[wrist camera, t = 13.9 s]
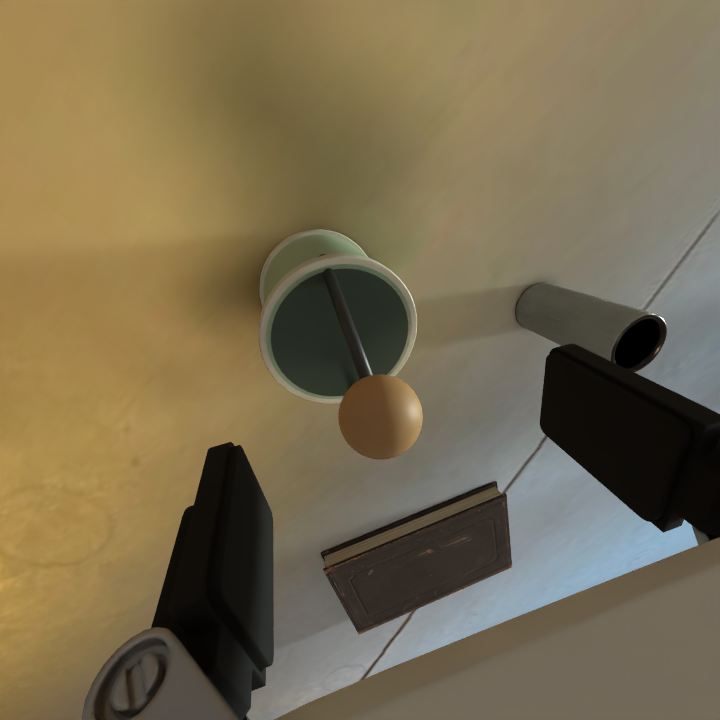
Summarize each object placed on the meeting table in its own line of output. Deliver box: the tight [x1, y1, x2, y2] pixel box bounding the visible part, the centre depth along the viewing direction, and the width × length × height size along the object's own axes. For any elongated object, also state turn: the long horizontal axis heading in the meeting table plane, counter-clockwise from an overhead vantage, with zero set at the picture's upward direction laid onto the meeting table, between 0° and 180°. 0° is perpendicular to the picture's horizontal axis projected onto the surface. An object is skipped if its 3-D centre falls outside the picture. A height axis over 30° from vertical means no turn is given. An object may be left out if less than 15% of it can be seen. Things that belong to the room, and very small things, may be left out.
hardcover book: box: [321, 482, 512, 634], centre depth 43 cm, size 16×23×2 cm
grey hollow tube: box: [516, 283, 667, 372], centre depth 28 cm, size 4×4×10 cm
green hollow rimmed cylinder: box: [259, 229, 423, 459], centre depth 19 cm, size 18×9×9 cm
